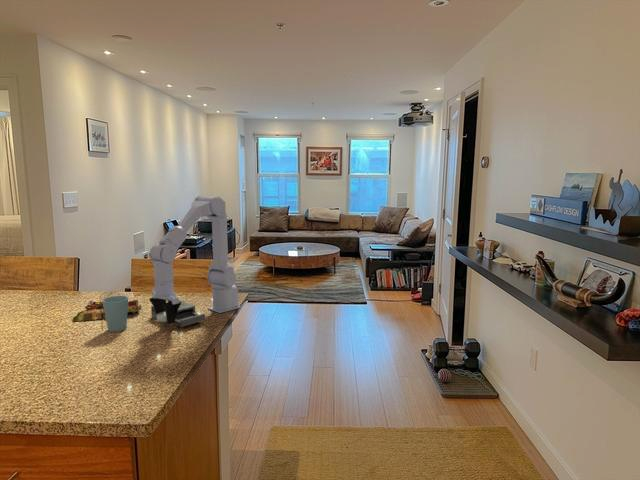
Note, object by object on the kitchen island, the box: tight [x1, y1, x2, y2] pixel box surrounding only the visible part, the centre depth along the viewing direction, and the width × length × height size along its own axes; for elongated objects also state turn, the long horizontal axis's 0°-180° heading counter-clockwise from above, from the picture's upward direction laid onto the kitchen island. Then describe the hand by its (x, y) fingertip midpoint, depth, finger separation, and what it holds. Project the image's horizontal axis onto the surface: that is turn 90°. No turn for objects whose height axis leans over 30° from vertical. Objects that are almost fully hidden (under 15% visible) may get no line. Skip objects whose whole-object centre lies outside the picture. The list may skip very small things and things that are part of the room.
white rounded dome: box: [156, 312, 167, 323], centre depth 134 cm, size 6×6×2 cm
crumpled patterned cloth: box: [72, 299, 142, 322], centre depth 151 cm, size 22×19×4 cm
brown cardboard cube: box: [159, 322, 174, 333], centre depth 134 cm, size 3×3×4 cm
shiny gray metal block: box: [150, 299, 196, 321], centre depth 146 cm, size 11×11×4 cm
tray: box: [173, 311, 206, 328], centre depth 141 cm, size 9×10×2 cm
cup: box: [101, 295, 129, 333], centre depth 134 cm, size 8×8×10 cm
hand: (166, 320), depth 134 cm, fingers open, 6 cm apart
